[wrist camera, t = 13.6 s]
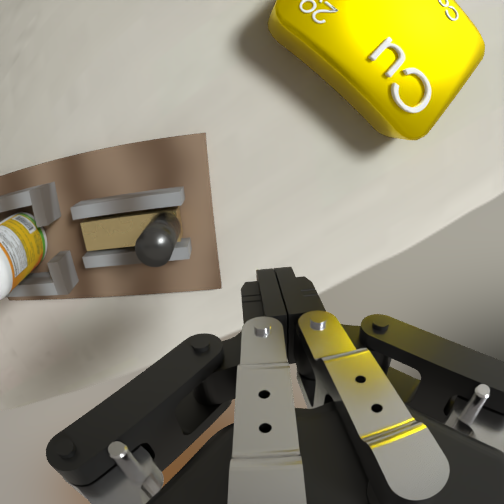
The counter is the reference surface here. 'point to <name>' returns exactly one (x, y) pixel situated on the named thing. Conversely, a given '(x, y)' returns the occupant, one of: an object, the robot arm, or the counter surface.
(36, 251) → the supplement bottle
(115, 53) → the counter surface
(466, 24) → the element tile
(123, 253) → the docking base
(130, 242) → the locking bolt
